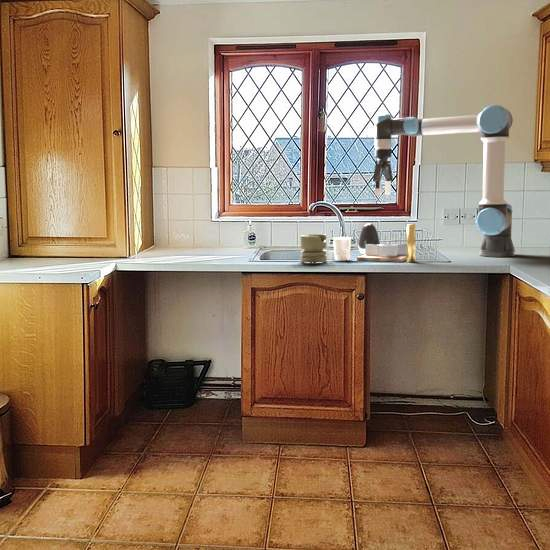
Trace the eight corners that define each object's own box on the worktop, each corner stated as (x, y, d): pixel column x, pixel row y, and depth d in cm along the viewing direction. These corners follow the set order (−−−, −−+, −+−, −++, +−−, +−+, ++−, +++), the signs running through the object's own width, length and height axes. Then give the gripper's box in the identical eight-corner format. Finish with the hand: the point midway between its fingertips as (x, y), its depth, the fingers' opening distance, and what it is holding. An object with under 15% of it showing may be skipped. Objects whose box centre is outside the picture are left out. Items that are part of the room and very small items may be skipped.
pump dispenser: (355, 256, 301) (355, 223, 299) (361, 253, 311) (361, 222, 309) (377, 256, 297) (377, 223, 295) (382, 254, 307) (382, 222, 305)
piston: (295, 235, 280) (310, 233, 289) (296, 263, 282) (310, 260, 291) (316, 236, 273) (331, 234, 282) (317, 264, 275) (331, 261, 284)
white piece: (409, 254, 288) (409, 243, 287) (401, 257, 278) (401, 246, 277) (371, 253, 296) (371, 242, 296) (362, 256, 286) (362, 245, 285)
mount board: (411, 257, 290) (411, 254, 289) (400, 262, 275) (400, 258, 275) (369, 256, 299) (369, 253, 299) (356, 260, 285) (356, 257, 285)
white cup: (339, 261, 283) (339, 239, 282) (330, 259, 290) (329, 237, 288) (354, 260, 287) (354, 237, 285) (344, 258, 293) (344, 236, 292)
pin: (416, 261, 276) (416, 224, 274) (413, 262, 273) (414, 224, 270) (408, 261, 278) (408, 224, 275) (405, 262, 274) (405, 224, 272)
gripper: (384, 150, 307) (384, 194, 310) (365, 148, 285) (366, 196, 288) (399, 149, 303) (399, 194, 306) (381, 147, 282) (382, 196, 285)
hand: (383, 195), depth 297 cm, fingers open, 13 cm apart
